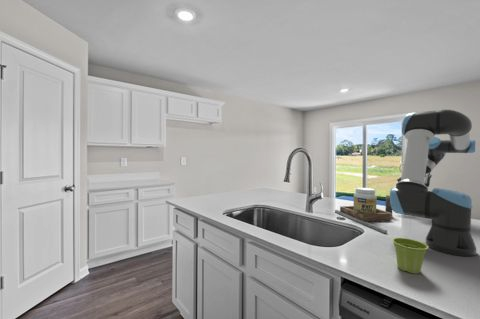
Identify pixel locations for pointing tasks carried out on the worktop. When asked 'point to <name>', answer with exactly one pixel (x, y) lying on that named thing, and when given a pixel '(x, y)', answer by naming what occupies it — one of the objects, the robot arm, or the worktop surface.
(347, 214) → the rail
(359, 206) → the supplement tub
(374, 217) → the wooden tray
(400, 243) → the plant pot
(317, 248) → the worktop surface
